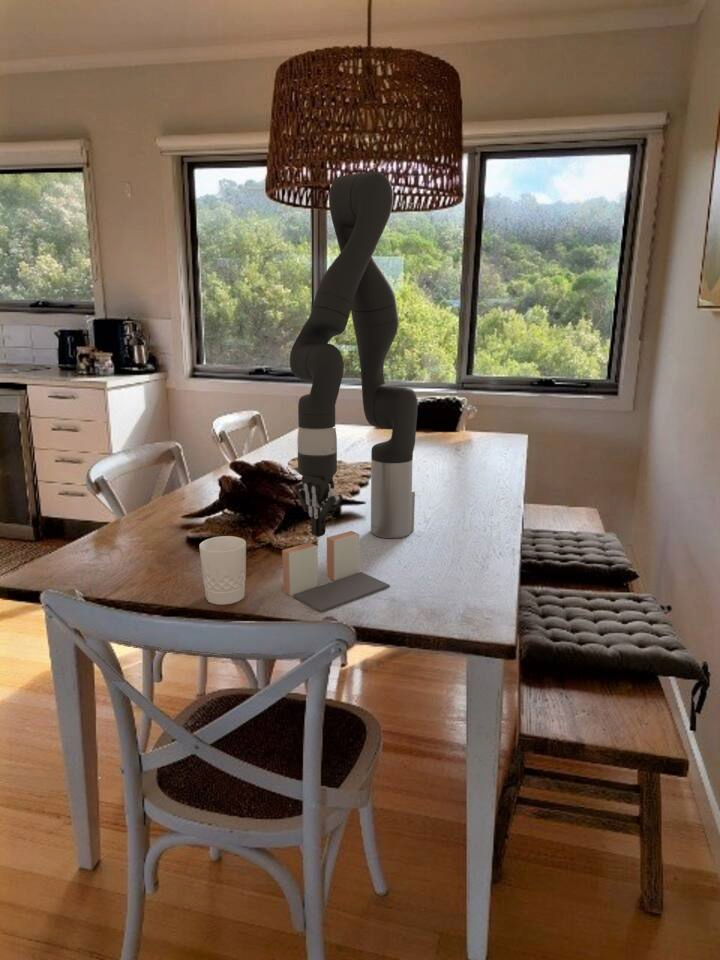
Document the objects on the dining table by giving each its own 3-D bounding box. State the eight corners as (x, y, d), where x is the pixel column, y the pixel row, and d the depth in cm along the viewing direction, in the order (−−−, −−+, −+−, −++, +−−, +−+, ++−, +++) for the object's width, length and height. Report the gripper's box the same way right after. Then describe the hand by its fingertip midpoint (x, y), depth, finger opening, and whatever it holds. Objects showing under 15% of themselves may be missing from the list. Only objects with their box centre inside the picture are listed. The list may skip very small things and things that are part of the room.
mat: (361, 573, 123) (361, 571, 123) (389, 586, 117) (389, 584, 117) (292, 596, 113) (292, 594, 112) (320, 612, 107) (320, 610, 107)
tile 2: (351, 569, 125) (351, 530, 123) (359, 573, 123) (359, 533, 121) (327, 577, 121) (326, 537, 119) (334, 581, 119) (334, 540, 117)
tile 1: (310, 582, 119) (309, 542, 117) (317, 587, 117) (317, 545, 115) (283, 591, 115) (282, 550, 113) (290, 596, 113) (290, 553, 111)
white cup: (193, 599, 112) (189, 545, 109) (225, 584, 118) (223, 533, 115) (225, 610, 107) (222, 555, 105) (257, 594, 114) (255, 541, 111)
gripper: (354, 452, 119) (354, 539, 124) (312, 441, 129) (313, 523, 133) (322, 458, 115) (323, 548, 119) (281, 446, 124) (283, 530, 129)
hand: (318, 534), depth 126 cm, fingers closed
